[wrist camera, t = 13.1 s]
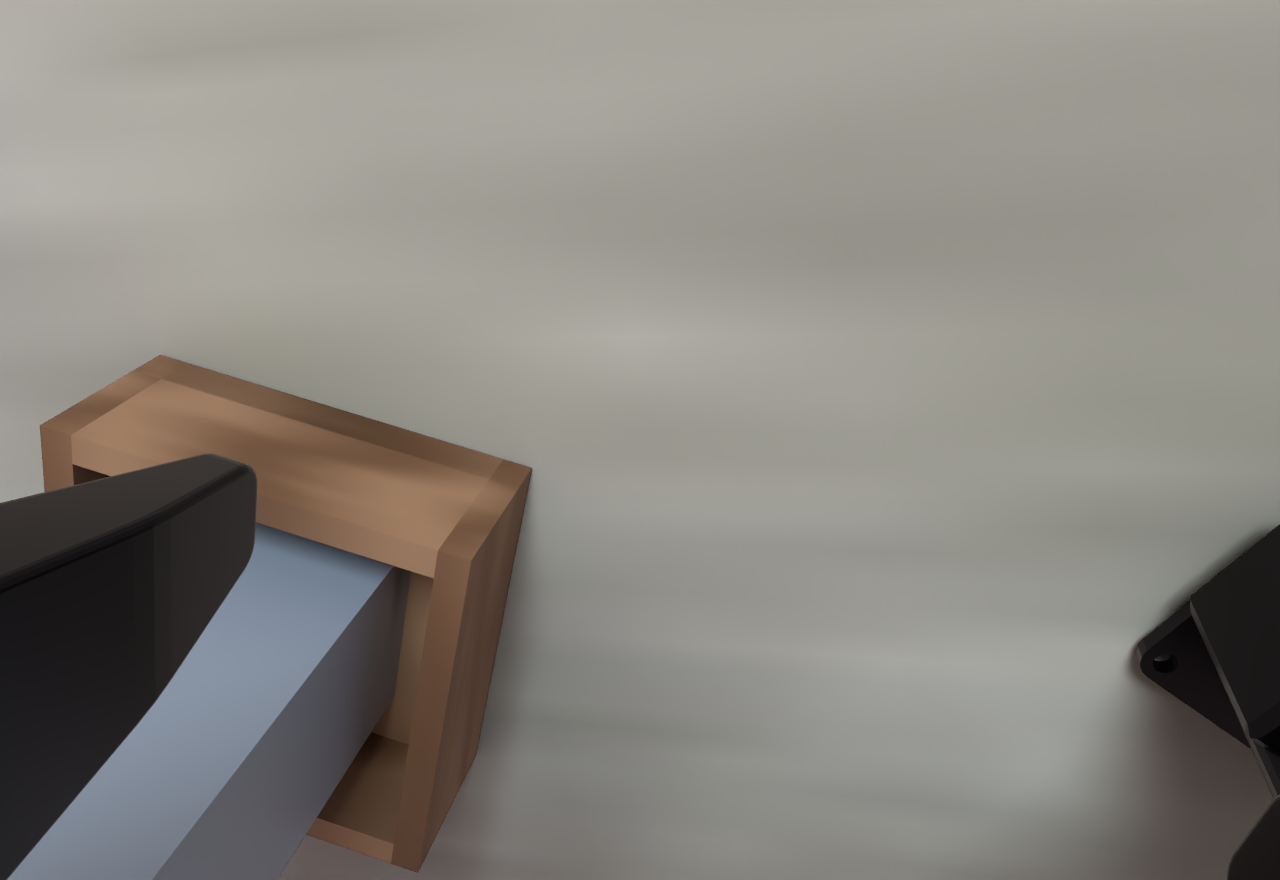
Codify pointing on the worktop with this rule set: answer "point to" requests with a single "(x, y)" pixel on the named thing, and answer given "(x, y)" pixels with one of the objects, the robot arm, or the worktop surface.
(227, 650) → the small plastic crate
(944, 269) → the worktop surface
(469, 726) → the wooden crate
